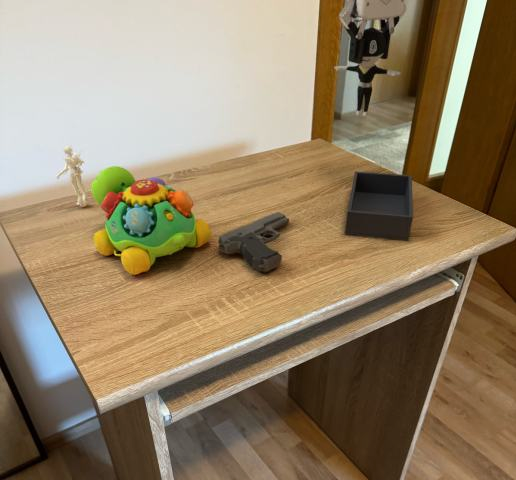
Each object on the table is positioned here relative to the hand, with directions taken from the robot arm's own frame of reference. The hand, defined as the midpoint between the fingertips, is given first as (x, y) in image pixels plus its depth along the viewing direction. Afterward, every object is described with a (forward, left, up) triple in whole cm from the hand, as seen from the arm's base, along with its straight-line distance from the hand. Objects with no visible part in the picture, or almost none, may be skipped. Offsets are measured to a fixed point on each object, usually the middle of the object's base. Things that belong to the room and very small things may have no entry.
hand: (368, 59), depth 93 cm
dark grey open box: (-6, +18, -23) cm, 29 cm away
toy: (0, 0, -10) cm, 10 cm away
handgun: (+12, +34, -23) cm, 43 cm away
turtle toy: (+34, +37, -23) cm, 55 cm away
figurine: (+53, +26, -23) cm, 63 cm away
